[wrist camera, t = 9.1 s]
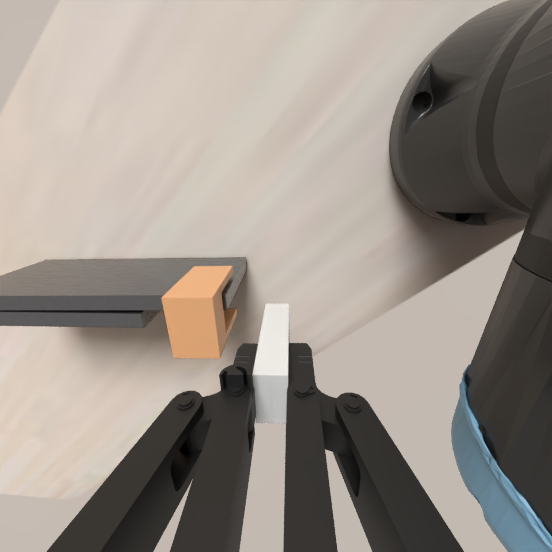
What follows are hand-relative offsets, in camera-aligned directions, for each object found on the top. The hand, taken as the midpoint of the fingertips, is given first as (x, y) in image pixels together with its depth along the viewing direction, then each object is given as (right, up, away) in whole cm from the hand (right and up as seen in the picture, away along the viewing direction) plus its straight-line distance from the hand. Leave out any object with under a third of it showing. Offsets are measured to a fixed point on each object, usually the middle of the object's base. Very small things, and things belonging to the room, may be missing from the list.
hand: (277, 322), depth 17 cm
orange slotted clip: (-5, +2, +5) cm, 8 cm away
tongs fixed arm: (-14, +3, +11) cm, 18 cm away
